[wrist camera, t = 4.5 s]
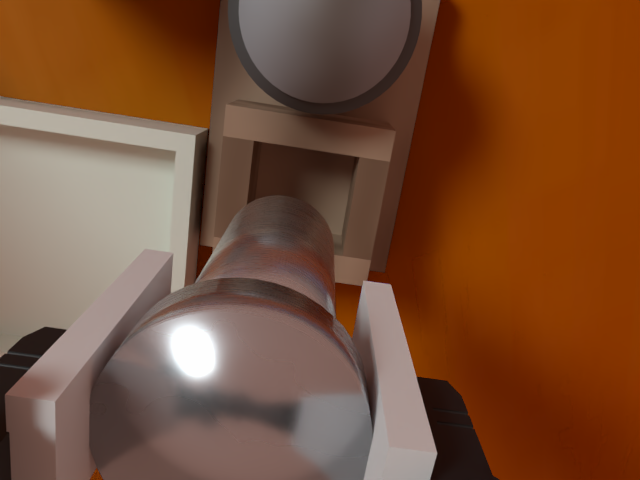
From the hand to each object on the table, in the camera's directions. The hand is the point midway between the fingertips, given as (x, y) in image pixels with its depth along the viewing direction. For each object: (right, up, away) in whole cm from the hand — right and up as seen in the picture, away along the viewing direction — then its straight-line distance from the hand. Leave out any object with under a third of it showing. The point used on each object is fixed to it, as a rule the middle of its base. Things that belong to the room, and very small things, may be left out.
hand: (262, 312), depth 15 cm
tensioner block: (+1, +9, +16) cm, 19 cm away
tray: (-15, +2, +19) cm, 24 cm away
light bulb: (0, +2, +5) cm, 5 cm away
